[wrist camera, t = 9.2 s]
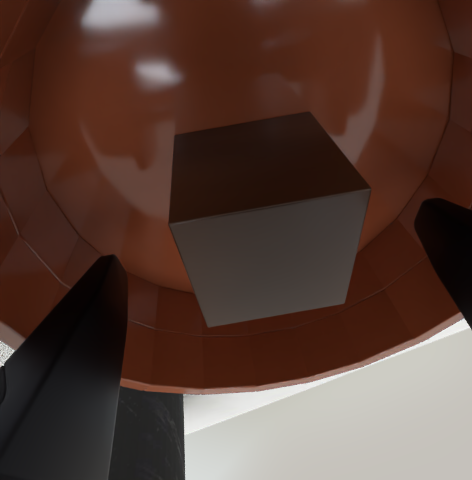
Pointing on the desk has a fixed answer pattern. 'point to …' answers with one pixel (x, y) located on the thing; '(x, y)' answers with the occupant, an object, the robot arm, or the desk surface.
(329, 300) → the block
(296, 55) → the bowl
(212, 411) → the desk surface
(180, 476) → the travel mug
